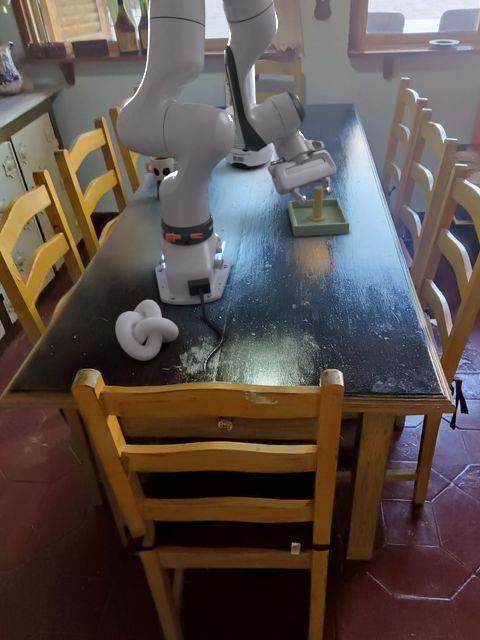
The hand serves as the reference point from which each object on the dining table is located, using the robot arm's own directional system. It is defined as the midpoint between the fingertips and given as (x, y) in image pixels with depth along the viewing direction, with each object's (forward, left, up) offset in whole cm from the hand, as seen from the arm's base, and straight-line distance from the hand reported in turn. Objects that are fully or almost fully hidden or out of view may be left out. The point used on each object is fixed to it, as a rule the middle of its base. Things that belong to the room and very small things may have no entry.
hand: (317, 198), depth 146 cm
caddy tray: (0, 0, -7) cm, 7 cm away
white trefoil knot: (-54, +41, -7) cm, 68 cm away
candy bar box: (+94, +20, -7) cm, 96 cm away
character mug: (+22, +44, -7) cm, 50 cm away
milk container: (+49, +17, -7) cm, 52 cm away
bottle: (+120, +15, -7) cm, 121 cm away
